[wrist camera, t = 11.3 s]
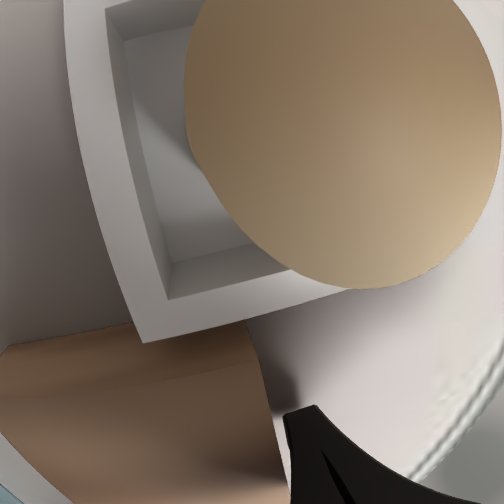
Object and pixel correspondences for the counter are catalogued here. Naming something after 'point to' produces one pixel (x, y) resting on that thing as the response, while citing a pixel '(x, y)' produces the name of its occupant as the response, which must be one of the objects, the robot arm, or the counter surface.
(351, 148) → the rounded wooden peg
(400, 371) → the counter surface
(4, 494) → the rail
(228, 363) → the walnut slab
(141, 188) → the cradle
